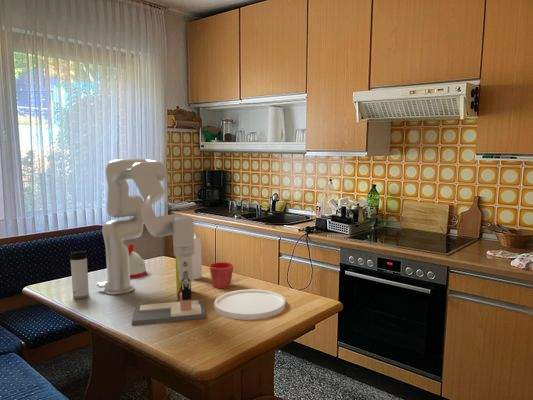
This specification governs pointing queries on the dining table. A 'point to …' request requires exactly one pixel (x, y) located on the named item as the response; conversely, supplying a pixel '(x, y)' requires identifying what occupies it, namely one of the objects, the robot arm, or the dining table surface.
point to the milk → (197, 259)
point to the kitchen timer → (136, 264)
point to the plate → (249, 304)
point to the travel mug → (79, 275)
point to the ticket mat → (162, 313)
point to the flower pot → (221, 274)
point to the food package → (178, 282)
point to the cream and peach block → (185, 308)
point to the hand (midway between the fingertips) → (186, 295)
